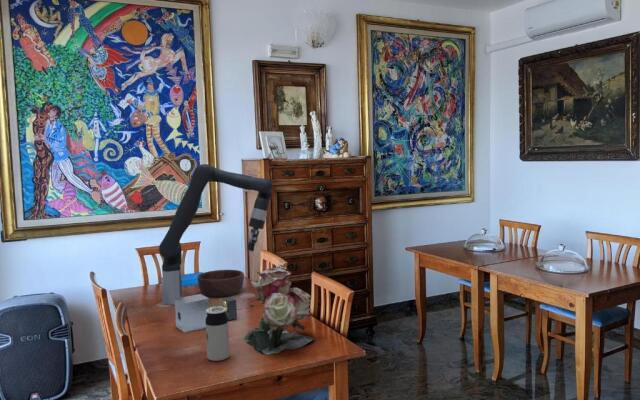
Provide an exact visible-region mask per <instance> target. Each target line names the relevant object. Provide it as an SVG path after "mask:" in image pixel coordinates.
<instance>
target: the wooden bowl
mask: <svg viewBox="0 0 640 400" xmlns="http://www.w3.org/2000/svg"><path fill="white" fill-rule="evenodd" d="M197 279H198V288H199V290H200V292H201V294H202V295H204V296H205V297H207V298H228V297H232V296H235V295H237V294H239V293H240V292H241V290H242V289H243V286H244V280H245V274H244V271H242V270H238V269H237V270H236V269H218V270H210V271H205V272H203V273H202V274H200V275H198V277H197Z"/></svg>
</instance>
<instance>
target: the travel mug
mask: <svg viewBox="0 0 640 400" xmlns="http://www.w3.org/2000/svg"><path fill="white" fill-rule="evenodd" d="M211 307H212V306H211ZM226 310H227V309H226V308H225V307H212V308H208V309H207V310H206V313H207V317H206V319H205V320H206V328H205V334H206V335H205V337H206V356H207V359H208V360H210V361H212V362H213V361H214V362H218V361H219V362H221V361H224V360H226V359H228V358H229V357H230V339H229V320H228V317H227V315H226Z"/></svg>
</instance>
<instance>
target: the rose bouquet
mask: <svg viewBox="0 0 640 400" xmlns="http://www.w3.org/2000/svg"><path fill="white" fill-rule="evenodd" d="M256 273H257V274H259V277H260V278H259V280H253V281H252V280H250V281H251V282H250V283H251V285H252V287H253V288H254V290H255V292H256V293H257V295H258V296H255V297H251V298H250V299H251V300H256V301H262V303H261V305H263V309H262V311H261V315H262V317H261V318H258V317H257V318H256V319H257V320H258V327H257V326H255V327H254V328H252V329H249V330H248V332H247V334H246V335H244V337H243V340H244V341H246V344H248V345H250V346H251V347H253V348H254V349H255V350H256V351H258V352H260V353H263V354H264V355H267V356H268V355H272V354H279V353H280V352H282V351H285V350H296V349H300V348H302V347H304V346H306V345H307V344H308V343H310V342H312V341H316V340H315V339H314V338H313V337H311V336H307V335H303V334H299V333H298V332H296V331H297V330H296V328H298V329H300V330H301V332H303V333H306V330H305V329H306V327H305V325H304V324H302V323H301V322H300V321H299V320H306V319H307V318H308V317H310V316H311V313H310V311H311V310H312V308H310V306H311V305H312V304H311V303H310V302H312V300H311V299H310V298H311V295H310V294H309V293H307V292H305V291H303V290H302V289H301V288H299V287H291V286H292V282H291V280H290V281H289V279H290V276H291V275H292V272H291V271H288V270H287V267H285V265H282V264H280V265H278V266H276V267H268V268H266V270H263V271H257V272H256ZM248 307H249V308H254V307H255V305H254V304H250V305H248ZM291 327H292V328H293V330H294V331H292V332H289V331H287V330H289V329H290V328H291Z"/></svg>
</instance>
